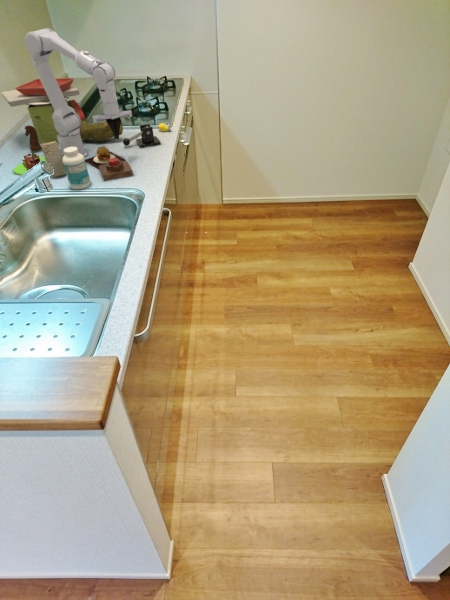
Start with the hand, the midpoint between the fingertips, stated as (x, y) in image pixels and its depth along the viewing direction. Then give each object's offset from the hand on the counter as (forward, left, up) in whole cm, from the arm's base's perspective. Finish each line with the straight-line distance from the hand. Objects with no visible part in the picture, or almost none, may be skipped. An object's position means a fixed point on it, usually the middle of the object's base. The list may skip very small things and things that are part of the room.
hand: (117, 138), depth 156 cm
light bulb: (+24, +24, -8) cm, 35 cm away
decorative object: (-10, +34, -3) cm, 35 cm away
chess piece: (-31, +27, -9) cm, 42 cm away
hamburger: (-6, +3, -9) cm, 11 cm away
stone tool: (-2, +31, -3) cm, 32 cm away
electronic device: (-24, +42, +9) cm, 49 cm away
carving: (-25, -4, -9) cm, 27 cm away
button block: (-4, -11, -9) cm, 15 cm away
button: (-4, -11, -5) cm, 13 cm away
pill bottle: (-18, -16, -9) cm, 26 cm away
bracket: (+15, +14, -9) cm, 22 cm away
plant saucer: (-20, +38, +10) cm, 45 cm away
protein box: (-22, +38, -9) cm, 44 cm away
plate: (-22, +39, +7) cm, 46 cm away
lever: (+11, +14, -7) cm, 19 cm away
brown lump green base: (-33, +8, -9) cm, 35 cm away
